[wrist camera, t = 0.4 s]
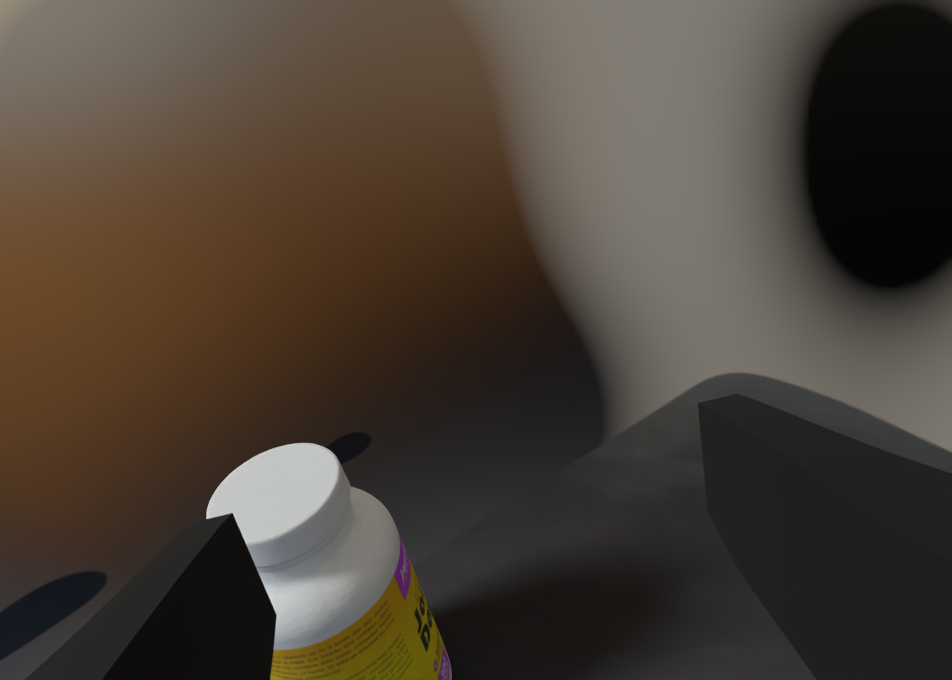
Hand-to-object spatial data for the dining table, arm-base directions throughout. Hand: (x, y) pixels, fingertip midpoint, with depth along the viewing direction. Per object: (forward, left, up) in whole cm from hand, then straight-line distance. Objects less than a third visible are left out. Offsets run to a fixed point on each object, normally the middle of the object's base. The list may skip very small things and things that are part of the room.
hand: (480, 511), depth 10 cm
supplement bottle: (+10, +8, -20) cm, 24 cm away
